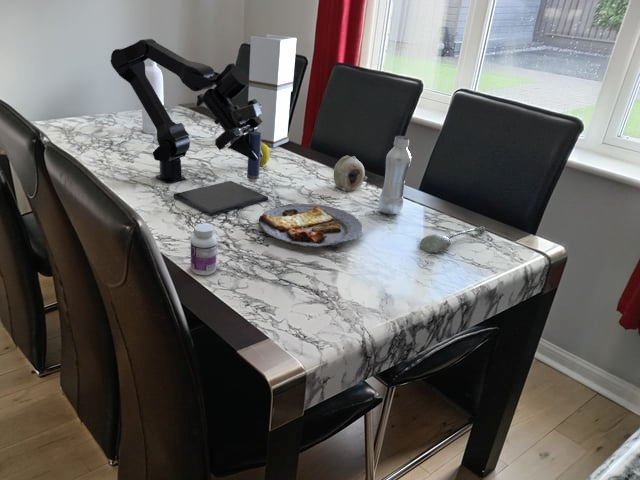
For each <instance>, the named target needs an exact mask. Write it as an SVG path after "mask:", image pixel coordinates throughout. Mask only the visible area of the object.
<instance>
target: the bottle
mask: <svg viewBox="0 0 640 480" xmlns="http://www.w3.org/2000/svg"><path fill="white" fill-rule="evenodd" d="M145 74H146V77H147V78H148V80H149V82H150V84H151V85H152V87H153V89H154V91H155V92H156V94H157V96H158V98H159V99H160V101H161V103H162V104H163V106H164V104H165V103H164V102H165V101H164V75H163V72H162V70H161V68H160V67H158V64H157V63H155V62H154V61H152V60H150V59H149V58H148V59H147V60H145ZM164 107H165V106H164ZM141 118H142V123H141V126H142V132H143V133H145V134H149V135H157V129H156V127H155V126H154V124H153V122H152V120H151V119H150V117H149V115H148V114H147V112H146V110H145V108H144V107H143V105H142V104H141Z"/></svg>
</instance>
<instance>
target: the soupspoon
mask: <svg viewBox="0 0 640 480" xmlns="http://www.w3.org/2000/svg"><path fill="white" fill-rule="evenodd" d="M472 232H479V233H480V234H484V233H485V232H486V227H485V226H484V225H481V226H479V227H474V228H470V229H466V230H463V231H459V232H455V233H452V234H449V235H447V236H446V235H443V234H437V233H435V234H429V235H426V236H425V237H423V238H422V239H421V240H420V242H419V246H420V248H421V249H422V251H424V252H427V253H431V254H437V253H441V252H443V251H444V250H446V249H448V248H449V247H450V246H451V245H452V238H455V237H458V236H460V235H463V234H467V233H472Z"/></svg>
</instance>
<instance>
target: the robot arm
mask: <svg viewBox="0 0 640 480" xmlns="http://www.w3.org/2000/svg"><path fill="white" fill-rule="evenodd" d="M148 58H149V59H150V60H152V61H154V62H155V63H157V65H159V66H160V67H162V68H164V69H166V70H167V71H169V72H171V73H173V74H174V75H176V76H177V77H178V78H179V80H180V81H181V83H182V84H183V85H184V86H185V87H187V88H189V90H190V91H192V92H201V91H204V90H206V91H205V92H204V93H200V94H198V95H196V98H197V100H196V107H198V108H199V107H201V106H203V105H205V107H206V108H207V109H208V111H209V112H210V113H211V115H212V116H213V118H214V119H215V120H213V122H214V124H215V125H218V124H219V126H220V127H221V128H222V130H223V132H222V133H221V134H220V135H219V136H217V137H216V138H215V140H214V141H215V142H214V145H215V146H216V148H217V149H218V150H219V151H222V150H223V149H225V148H226V145H228V144H229V143H230V145H229V146H228V147H227V149H228V150H233V151H234V152H237V153H238V154H240V155H242V156H244V157H246V158H247V159H248V158H250V159H252V160H253V161H256V160H257V159H258V158H257V156H256V154H255V152H254V150H253V149H252V147H251V145H250V144H249V133H250V132H257V129H258V126H259V125H260V124H261V123H262V120H261V119H260V118H259V116H258V115H261V114H262V112H261V107H262V105H261V104H259V102H257V101H256V100H255V99H253V100H251V101H248V100H247V104H246V105H245V106H243V107H240V106H239V104H233V103H232V101H231V100H234V99H236V98H237V96H239V94H241V93H242V92H243V91H244V90H245V89H246V88H247V87H249V75H248V74H247V73H246V72H245V71H244V70H242V69H241V68H240V67H238V66H236V65H235V63H234V62H232V63H228V64H227V65H226V66H225V68H224V69H223V70H222V72H221V73H220V72H217V71H215V69H214V68H213V67H211V66H210V65H207V64H204V63H200V62H196V61H191V60H188V59H186V58H185V57H184V56H183V57H182V56H181V55H179V54H177V53H176V52H174V51H172V50H171V49H169V48H167V47H165V46H164V45H162V44H160V43H158V42H157V41H156V40H154V39H153V38H145V39H140V40H138V41H136V42H135V43H133V44H130V45H129V46H128V45H127V46H126V47H124V48H123V47H122V48H116V49H114V50H112V52H111V55H110V64H111V67H112V68H113V69H114V71H115V72H116V73H117V74H118V76H119V78H122V79H123V80H125V81H126V82H127V83H129V84H130V86H131V88H132V90H133V91H134V93H135V94H136V96H137V98H138V100H139V102H140V103H141V106H142V105H143V107H144V108H145V110H146V112H147V114H148V115H149V117H150V119H151V120H152V122H153V124H154V126H155V127H156V129H157V134H156V141H157V143H158V146H157V147H156V148H155V149H154V150H153V151H152V156H153V159H154V160H155V161H159V174H156V175H155V178H156V179H157V180H160V181H162V182H164V183H166V184H171V183H175V182H176V183H177V182H181V181H184V180H186V177H185V176H183V175H182V159H181V158H183V157H186V155H187V152H188V150H189V149H190V147H191V139H190V137H189V136H190V133H189V132H188V131H187V130H186V127H185V125H184V124H183V123H182V122H179V123H176V122H175V121H173V120H172V118H171V117H170V115H169V113H168V111H167V110H166V108H165V106H163V104H162V103H161V101H160V99H159V98H158V96H157V94H156V92H155V91H154V89H153V87H152V85H151V84H150V82H149V80H148V78H147V77H146V74H145V66H146V60H147V59H148ZM214 86H215V87H214ZM262 156H263V154H262V152H261V153H260V157H262Z"/></svg>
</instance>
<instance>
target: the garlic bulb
mask: <svg viewBox="0 0 640 480" xmlns="http://www.w3.org/2000/svg"><path fill="white" fill-rule="evenodd" d="M367 179H368V176H366V171H365V167H364V165H363V163H362V162H361V161H359V159H357V158H356V156H355V155H353V156H350V155H345V156H342V157H341V158H340V159H339V160H338V161H337V162H336V163H335V165H334V168H333V182H334V184H335V186H336V187H337V188H338V189H341V190H342V191H346V192H350V191H351V192H352V191H356V190H357V189H358V188H360V187H361V186H362V185H363V183H364V181H367Z"/></svg>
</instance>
